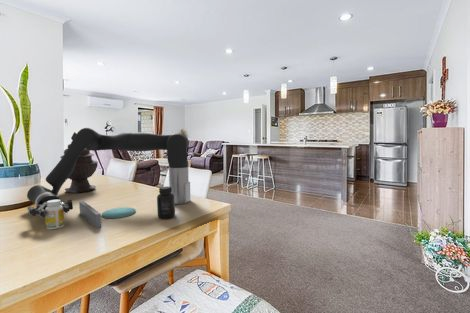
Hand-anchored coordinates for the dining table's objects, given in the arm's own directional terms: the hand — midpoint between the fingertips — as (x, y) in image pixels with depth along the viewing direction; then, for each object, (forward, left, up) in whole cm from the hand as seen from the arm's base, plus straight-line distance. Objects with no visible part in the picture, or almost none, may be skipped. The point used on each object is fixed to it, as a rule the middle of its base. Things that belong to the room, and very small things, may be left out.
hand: (55, 212), depth 87 cm
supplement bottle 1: (+2, -1, -6) cm, 7 cm away
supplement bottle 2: (-32, -19, -6) cm, 38 cm away
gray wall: (-4, -10, -6) cm, 13 cm away
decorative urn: (+40, -53, -6) cm, 66 cm away
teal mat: (-11, -19, -6) cm, 23 cm away
